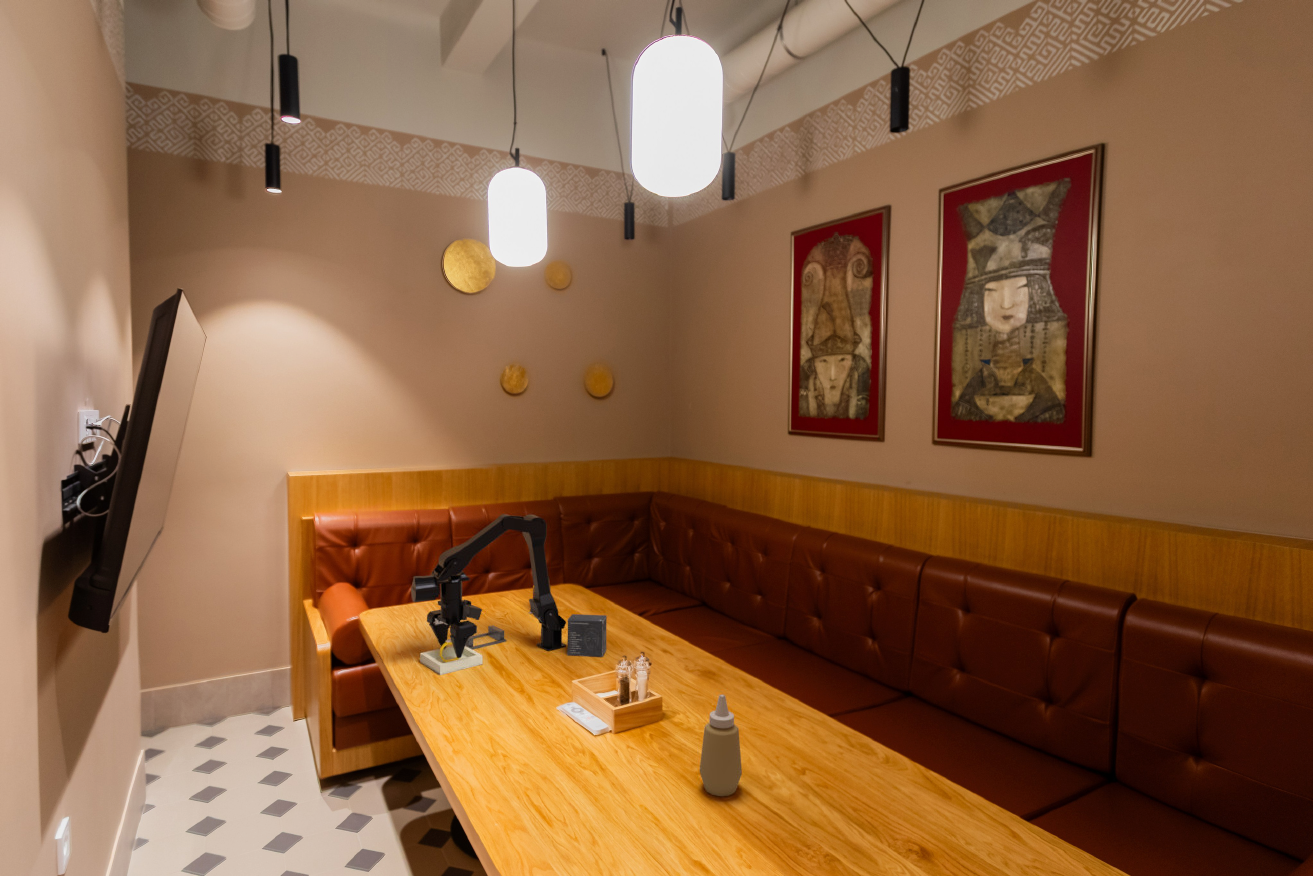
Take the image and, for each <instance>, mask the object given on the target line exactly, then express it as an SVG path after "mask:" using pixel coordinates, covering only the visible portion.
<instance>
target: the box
mask: <svg viewBox="0 0 1313 876" xmlns="http://www.w3.org/2000/svg"><path fill="white" fill-rule="evenodd" d="M607 617H608V616H607V615H602V614H601V615H600V614H580V613H579V614H577V613H576V614H573V613H572V614H571V615H570V616H569V618H567V653H566V654H567V656H574V657H575V656H577V657H578V656H579V657H598V658H599V657H601V658H602V657H604V655H605V654H606V652H607V623H608V621H607Z"/></svg>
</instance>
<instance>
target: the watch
mask: <svg viewBox="0 0 1313 876" xmlns="http://www.w3.org/2000/svg"><path fill="white" fill-rule="evenodd" d="M448 645H453V644H452V641H451V638H449V639H448V638H447V640H446V642H445V643H444V644H443V645H442V646H440V648H439V649H440V653H439V654H440V657H441V659H442V660H443V661H444V662H450V661H454V660H458V659H459V658H457V657H456V658H455V659H449V660H445V659H444V658H443V657H442V650H443V649H444V647H445V646H446V647H447V646H448Z"/></svg>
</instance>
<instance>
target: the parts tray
mask: <svg viewBox="0 0 1313 876" xmlns="http://www.w3.org/2000/svg"><path fill="white" fill-rule="evenodd" d="M439 653H440V648H437V649H432V650H428V651H424V652H420V654H419V662H420V663H421V664H422V665H424V666H426V667H427V668H428V669H430V670H432V671H433V672H434V673H436V674H437V675H439V676H442V675H446V674H449V673H454V672H457V671H461V670H465V669H468V668H469V669H470V668H473V667H477V666H481V665H483V654H481V653H479V652H477V651H476V650H475V649H470V648H468V647H467V646H465V647H464V650H463V653H462V656H461V658H459V659H458V660H454V661H450V662H444V661H443V660H442V659H441V657H440V654H439ZM442 657H443V658H444V659H445V660H449V659H455V658H456V657H457V656H456V654H455V651H454V647H453V645H450V646H446V648H445V649H443V650H442Z"/></svg>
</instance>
